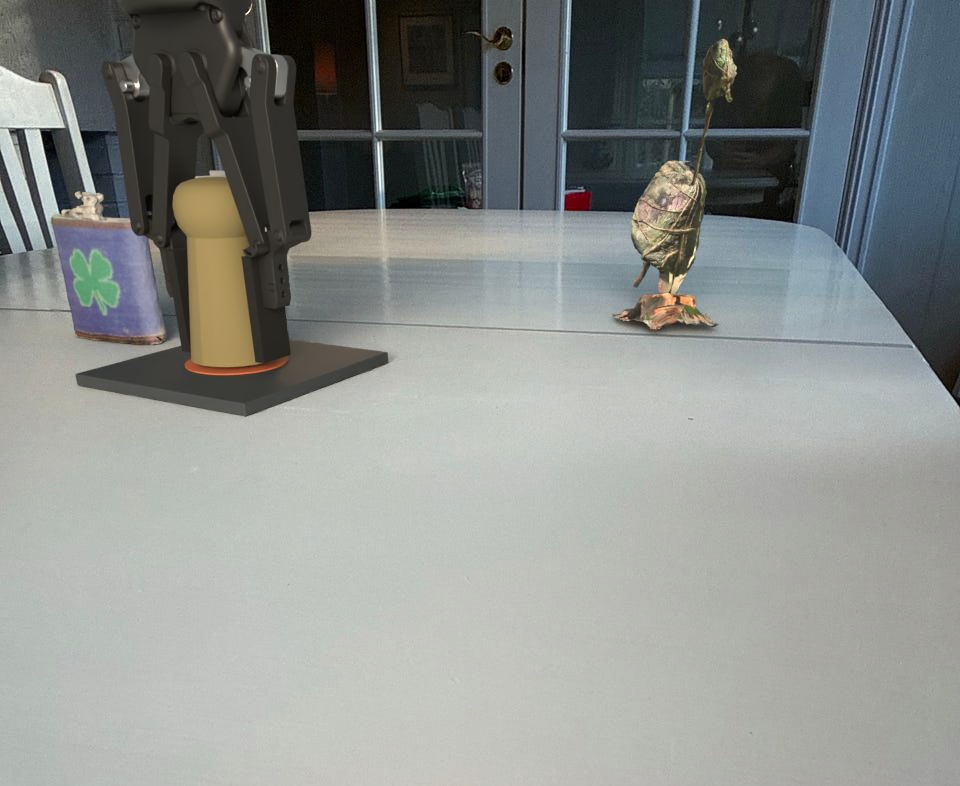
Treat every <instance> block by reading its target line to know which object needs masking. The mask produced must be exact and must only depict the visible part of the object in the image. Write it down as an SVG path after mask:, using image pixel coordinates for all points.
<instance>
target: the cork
mask: <svg viewBox="0 0 960 786" xmlns="http://www.w3.org/2000/svg"><path fill="white" fill-rule="evenodd" d="M172 206H173V211H174V216H175V219H176V221H177V224H178V226H179V227H180V229H181V230H182V231H183V232H184V234H185V235H186V236H187V255H188V284H189V313H190V342H191V361H192V362H194V363H195V364H199V365H203V366H211V367H240V366H249V365H257V364H261V363H258V362H255V355H254V348H253V340H252V333H251V325H250V318H249V310H248V303H247V295H246V288H245V280H244V273H243V266H242V258H241V256H246V255H245V254H244V252H243V249H246V248H248V247H250V245H249V242H248V239H247V236H246V233H245V230H244V227H243V224H242V221H241V218H240V216H239V213H238V210H237V207H236V204H235V201H234V198H233V195H232V192H231V189H230V186H229V184H228V181H227V178H226V177H199V178H195V179H191V180H188V181H185V182H182V183H181V184H179V185H178V186H177V187H176V189H175V192H174V195H173V205H172Z"/></svg>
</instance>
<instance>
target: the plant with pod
mask: <svg viewBox="0 0 960 786" xmlns="http://www.w3.org/2000/svg"><path fill="white" fill-rule="evenodd" d="M733 56H734V55H733V51H732V50H731V48H730V46H729V41H728V40H726V39H725V38H722V39H719V40H718V41H716V42H715V43H714V44H712V45H711V46H710V47H709V48H708V50H707V52H706V55H705V57H704V59H703V60H702V65H701V66H702V67H703V68H702V92H703V96H704V98H705V100H706V101H708V103H707V104H706V109H705V114H704V115H705V116H704V117H705V120H704V122H705V123H704V127H703V132H702V136H701V139H700V143H699V146H698V150H697V155H696V161H695V165H694V170H693V169H692V168H691V167H690V166H689V165H686V163H690V162H691V160H684V161H682V160H668V161H667V162H665V163H664V164H663V165H662V166H661V167H660V169H658V172H656V173H655V174H654V176H653V177H652V178H651V179H650V181H649V183H648V185H647V186H646V188H645V189H644V191H643V193H642V195H641V196H640V197H639V198H638V200H637V203H636V206H635V207H634V211H633V215H632V217H631V220H630V221H631V222H630V239H631V241H632V244H633V247H634V250H636V251H637V253H638V254H640V255H641V257H640V259H641V260H642V261H643V262H642V270H641V272H640V274H638V275H637V277H636V278H635V279H634V280H633V284H632V287H633V288H638V287H639V286H640V284H641V283H642V281H643V280H644V278H645V277H646V276H647V273H648V271H649V269H650V267H654V268H655V269H657V270H658V273H659V274H658V283H657V284H658V286H657V291H658V293H647V294H643V295H641V296H640V297H639V299H638V301H637V303H636V305H635V306H634V307H632V308H626V309H623V311H622V312H621V313H617V314H615V313H612V316H611V317H615V319H616V320H620V321H621V320H622V321H623V322H625V321H627V322H630V321H633V320H634V321H636V322H642V323H644V324H646V325H647V326H648V327H649V329H650V330H659V329H663V327H668V326H670V325H673V324H675V323H678V322H679V323H681V324H684V323H685V324H686V325H690V324H691V325H693V326H697V325H698V326H701V325H703V326H706V327H708V328H715V327H716V328H717V326H719V325H720V323H716V322H715V323H713V322H714V320H712V318H711V316H709V315H707V313H705V314H704V313H703V312H701V311H699V309H698V307H697V299H696V297H695V296H693V295H691V294H681V293H678V291H679V288H680V287H681V285H682V283H683V282H684V280H685V278H686V277H687V275H688V273H689V271H690V270H691V268H692V266H693V265H694V263H695V260H696V253H697V250H698V249H699V248H700V235H701V234H700V233H701V226H702V223H703V219H704V215H705V214H704V213H705V207H706V202H705V201H706V196H707V194H708V192H707V182H706V181H705V180H704V177H703V175H702V174H701V173H699V171H700V170H699V169H700V163H701V160H702V155H703V148H704V146H705V140H706V139H705V138H706V137H707V133H708V130H709V126H710V122H711V118H712V115H713V112H714V107H715V101H716V100H718V99H719V98H721V97H723V96H724V97H725V99H726V101H727V102H728V103H731V102H732V101H733V97H732V94H731V87H732V86H733V84H734V82H735V78H736V76H737V74H738V72H737V69H738V67H737V65H736V64H735V61H734V60H733Z"/></svg>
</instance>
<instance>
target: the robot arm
mask: <svg viewBox="0 0 960 786" xmlns="http://www.w3.org/2000/svg"><path fill="white" fill-rule="evenodd" d="M116 2H117V4H118V7H119V8H120V9H121V10H122V12H124V13H126V14H128V15H129V17H130V18H131V21H132V24H133V38H132V39H133V40H132V48H131V52H132V53H131V54H130V55H129V56H127V57H126V58H124V59H122V60H121V61H118V60H117V61H116V60H115V61H114V60H105V61H103V62H102V63H101V67H100V68H101V76H102V79H103V82H104V84H105V87H106V89H107V92H108V96H109V99H110V101H111V103H112V107H113V113H114V119H115V128H116V135H117V141H118V148H119V155H120V161H121V168H122V175H123V181H124V188H125V195H126V203H127V209H128V215H129V216H128V218H130V224H131V228H132V230H133V232H134V233H135V235H137V236H146V237H147V238H149V240H150V241H152V242H153V244H154V245H155V247H156V248H158V250H159V254H160V259H161V266H162V270H163V276H164V280H165V281H164V283H165V288H166V291H167V293H168V296H169V298H170V299H172V300H173V306H174V311H175V318H176V324H177V329H178V336H179V341H180V346H181V347H182V351H183V352H191V342H190V313H189V284H188V255H187V236H186V235H185V234H184V232H183V231H182V230H181V229H180V227H179V226H178V224H177V221H176V219H175V216H174V211H173V206H172V205H173V195H174V192H175V189H176V187H177V186H178V185H179V184H181V183H182V182H185V181H188V180H191V179H195V176H196V173H197V157H198V155H197V154H198V141H199V138H200V137H201V136H203V133H205V135H206V136H207V137H208V138H209V139H211V140H212V141H213V143H214V146H215V148H216V152H217V154H218V157H219V160H220V163H221V166H222V168H223V169H222V170H223V171H224V172H225V175H226V178H227V181H228V184H229V186H230V189H231V192H232V195H233V198H234V201H235V204H236V207H237V210H238V213H239V216H240V218H241V221H242V224H243V227H244V230H245V233H246V236H247V239H248V242H249V245H250V247H248V248H246V249H243V252H244V254H245V255H246V256H241V258H242V266H243V273H244V280H245V288H246V295H247V303H248V310H249V318H250V325H251V333H252V340H253V348H254V355H255V362H258V363H267V362H270V361H273V360H276V359H279V358H283V357H286V356H289V355H291V352H290V344H289V339H290V336H289V327H288V317H287V309H286V307H290V306H291V302H292V291H291V290H292V289H291V283H290V273H289V264H288V253H289V251H290V250H291V249H292V248H293V247H296V246H298V245H301V244H302V243H307V242H309V241H310V240H311V238H312V226H311V225H312V224H311V218H310V212H309V211H310V210H309V204H308V197H307V190H306V184H305V175H304V170H303V162H302V155H301V149H300V141H299V133H298V129H297V128H298V127H297V120H296V113H295V107H294V100H295V99H294V98H295V89H296V80H297V79H296V78H297V64H296V62H295V60H294V58H293V57H292V56H290V55H284V54H271V53H268V52H266V51H263V50H260V49H258V48H256V46H255V43H254V40H253V39H252V36H251V34H250V32H249V29H248V26H247V22H246V16H247V15H248V14H249V13H250V12H251V10H252V6H253V0H116ZM247 89H249V93H248V90H247ZM148 212H150V214H148Z"/></svg>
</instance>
